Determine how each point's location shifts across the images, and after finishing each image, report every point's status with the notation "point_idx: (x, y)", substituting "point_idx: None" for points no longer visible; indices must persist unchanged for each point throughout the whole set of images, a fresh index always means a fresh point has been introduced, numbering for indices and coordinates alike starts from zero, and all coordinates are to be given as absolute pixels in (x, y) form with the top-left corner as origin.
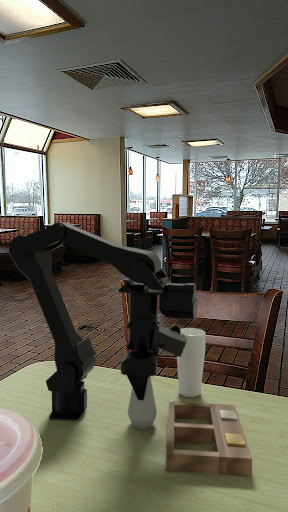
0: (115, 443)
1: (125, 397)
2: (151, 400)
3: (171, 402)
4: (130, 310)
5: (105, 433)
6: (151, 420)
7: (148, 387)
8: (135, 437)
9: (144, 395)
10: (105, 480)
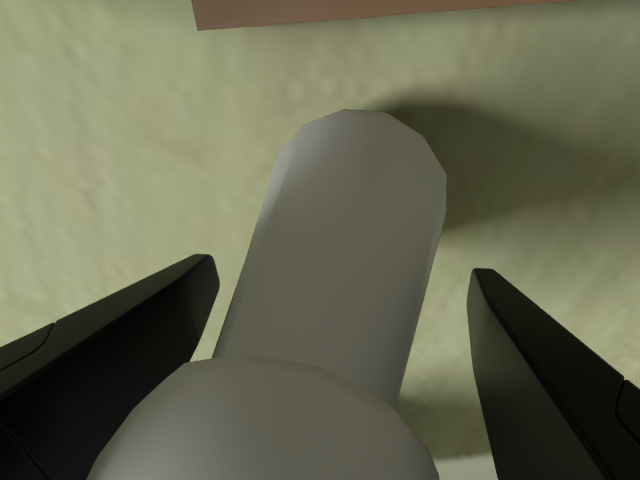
0: (540, 274)
1: (142, 263)
2: (391, 187)
3: (203, 4)
4: None
5: (454, 313)
6: (422, 136)
7: (387, 279)
8: (493, 195)
9: (522, 294)
10: None
